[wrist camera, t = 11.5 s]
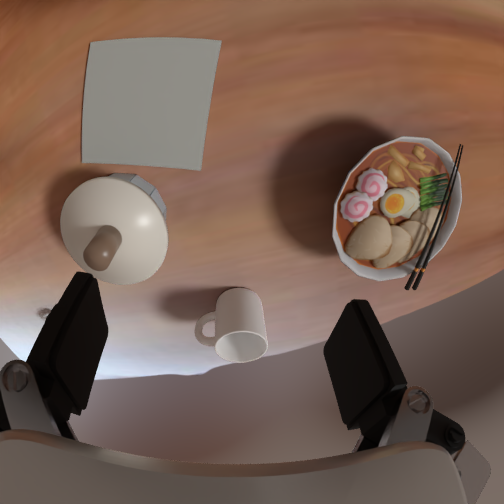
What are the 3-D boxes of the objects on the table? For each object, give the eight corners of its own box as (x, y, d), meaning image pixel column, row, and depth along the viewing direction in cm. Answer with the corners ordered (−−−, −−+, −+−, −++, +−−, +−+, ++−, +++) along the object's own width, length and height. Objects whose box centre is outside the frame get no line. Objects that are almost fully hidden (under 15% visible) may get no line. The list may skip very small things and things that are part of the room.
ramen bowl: (334, 101, 33) (359, 106, 26) (451, 140, 35) (483, 155, 29) (300, 256, 46) (312, 288, 39) (408, 263, 49) (429, 289, 42)
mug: (202, 323, 53) (199, 367, 44) (190, 292, 48) (184, 337, 40) (263, 315, 53) (270, 359, 44) (258, 282, 48) (265, 327, 40)
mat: (91, 42, 25) (90, 42, 24) (221, 41, 27) (221, 40, 27) (83, 162, 34) (82, 162, 34) (201, 169, 37) (200, 170, 37)
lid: (57, 175, 29) (33, 192, 24) (171, 180, 31) (159, 200, 26) (73, 273, 37) (57, 298, 32) (168, 286, 40) (161, 315, 35)
